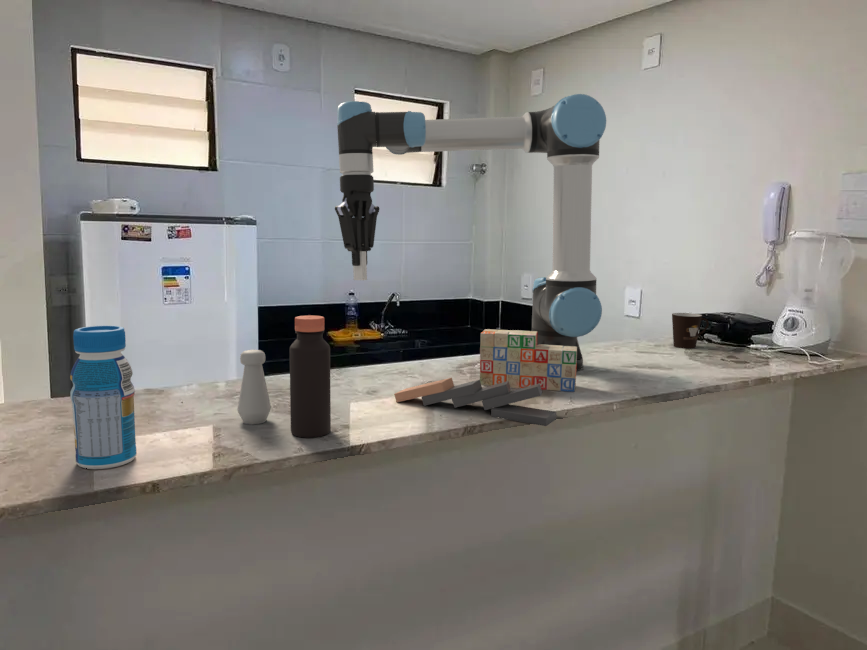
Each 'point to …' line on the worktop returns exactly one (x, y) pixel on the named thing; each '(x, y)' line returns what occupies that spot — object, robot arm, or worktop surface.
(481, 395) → the domino
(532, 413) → the domino
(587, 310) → the robot arm
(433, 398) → the domino
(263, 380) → the salt shaker
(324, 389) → the vinegar
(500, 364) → the stack of blocks
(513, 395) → the domino
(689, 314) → the coffee mug
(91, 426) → the beverage bottle
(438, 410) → the worktop surface
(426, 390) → the orange domino
